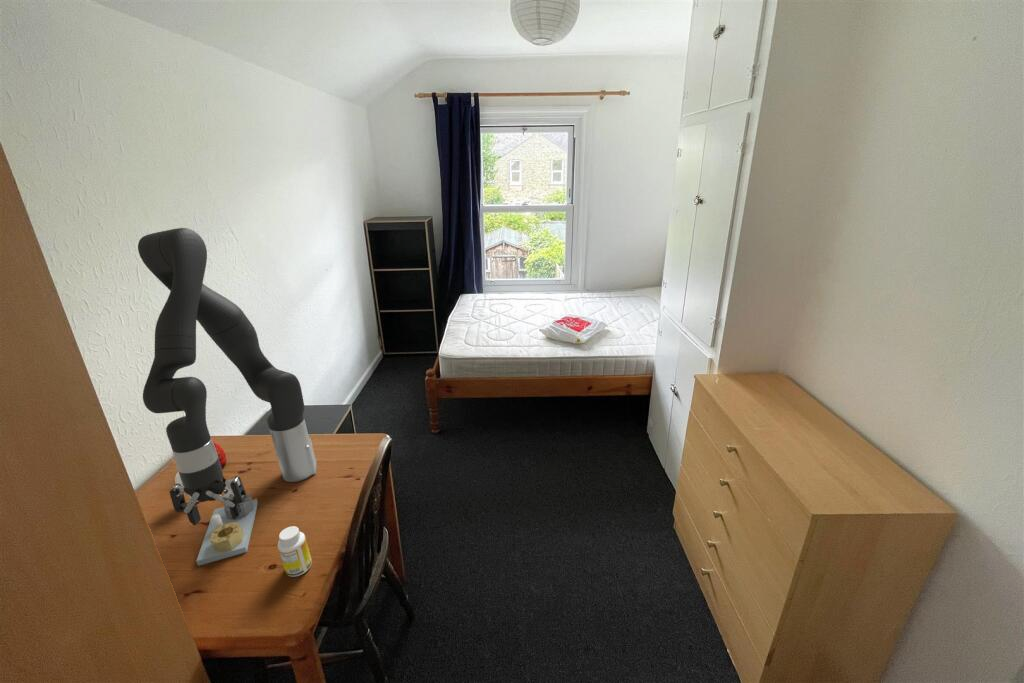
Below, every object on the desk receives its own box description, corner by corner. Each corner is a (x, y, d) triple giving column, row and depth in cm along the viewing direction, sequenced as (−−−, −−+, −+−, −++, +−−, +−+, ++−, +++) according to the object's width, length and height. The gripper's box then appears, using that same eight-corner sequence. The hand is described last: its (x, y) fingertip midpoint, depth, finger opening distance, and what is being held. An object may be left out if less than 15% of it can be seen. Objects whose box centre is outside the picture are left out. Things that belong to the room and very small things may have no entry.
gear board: (257, 503, 121) (252, 486, 119) (246, 551, 105) (240, 534, 103) (215, 514, 117) (209, 497, 115) (198, 565, 102) (190, 547, 100)
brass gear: (245, 529, 110) (242, 519, 109) (240, 546, 104) (237, 537, 103) (217, 536, 108) (214, 527, 107) (211, 555, 103) (207, 545, 101)
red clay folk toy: (195, 475, 134) (179, 432, 128) (210, 460, 140) (196, 419, 135) (219, 474, 133) (205, 431, 128) (234, 460, 140) (220, 419, 135)
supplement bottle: (305, 553, 104) (295, 519, 100) (316, 565, 100) (307, 530, 97) (281, 569, 100) (270, 534, 96) (292, 582, 96) (281, 546, 93)
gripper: (239, 447, 102) (255, 504, 108) (171, 455, 100) (191, 513, 106) (225, 467, 95) (243, 526, 101) (152, 476, 93) (175, 536, 99)
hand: (217, 519), depth 103 cm, fingers open, 8 cm apart
